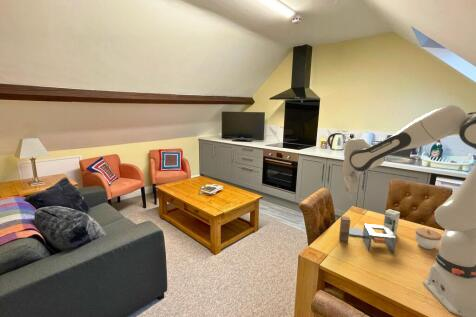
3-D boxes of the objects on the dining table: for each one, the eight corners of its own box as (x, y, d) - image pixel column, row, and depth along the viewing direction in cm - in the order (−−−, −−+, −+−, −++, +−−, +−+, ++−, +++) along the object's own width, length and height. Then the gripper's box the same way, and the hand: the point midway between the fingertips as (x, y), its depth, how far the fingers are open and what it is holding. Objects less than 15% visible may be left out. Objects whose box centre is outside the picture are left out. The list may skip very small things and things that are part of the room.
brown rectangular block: (347, 243, 130) (350, 220, 126) (339, 242, 131) (342, 219, 127) (346, 239, 133) (349, 216, 130) (338, 238, 134) (341, 216, 131)
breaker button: (384, 243, 124) (385, 240, 124) (374, 242, 125) (374, 239, 125) (381, 238, 129) (382, 235, 128) (371, 237, 130) (371, 234, 130)
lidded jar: (429, 240, 132) (432, 225, 130) (444, 252, 121) (447, 236, 119) (409, 239, 133) (411, 224, 131) (421, 251, 123) (424, 235, 120)
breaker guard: (393, 253, 121) (396, 238, 119) (367, 250, 124) (369, 234, 122) (386, 240, 132) (388, 226, 130) (362, 238, 135) (364, 223, 133)
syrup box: (381, 233, 139) (385, 211, 136) (386, 230, 142) (389, 208, 139) (392, 238, 135) (396, 214, 131) (396, 234, 138) (400, 211, 135)
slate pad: (363, 237, 136) (364, 235, 135) (348, 235, 138) (348, 233, 137) (360, 230, 143) (360, 228, 143) (346, 228, 145) (346, 227, 145)
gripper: (363, 175, 112) (359, 202, 115) (354, 164, 131) (351, 188, 134) (348, 174, 114) (345, 201, 117) (342, 163, 133) (339, 187, 136)
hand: (348, 194), depth 126 cm, fingers open, 8 cm apart
